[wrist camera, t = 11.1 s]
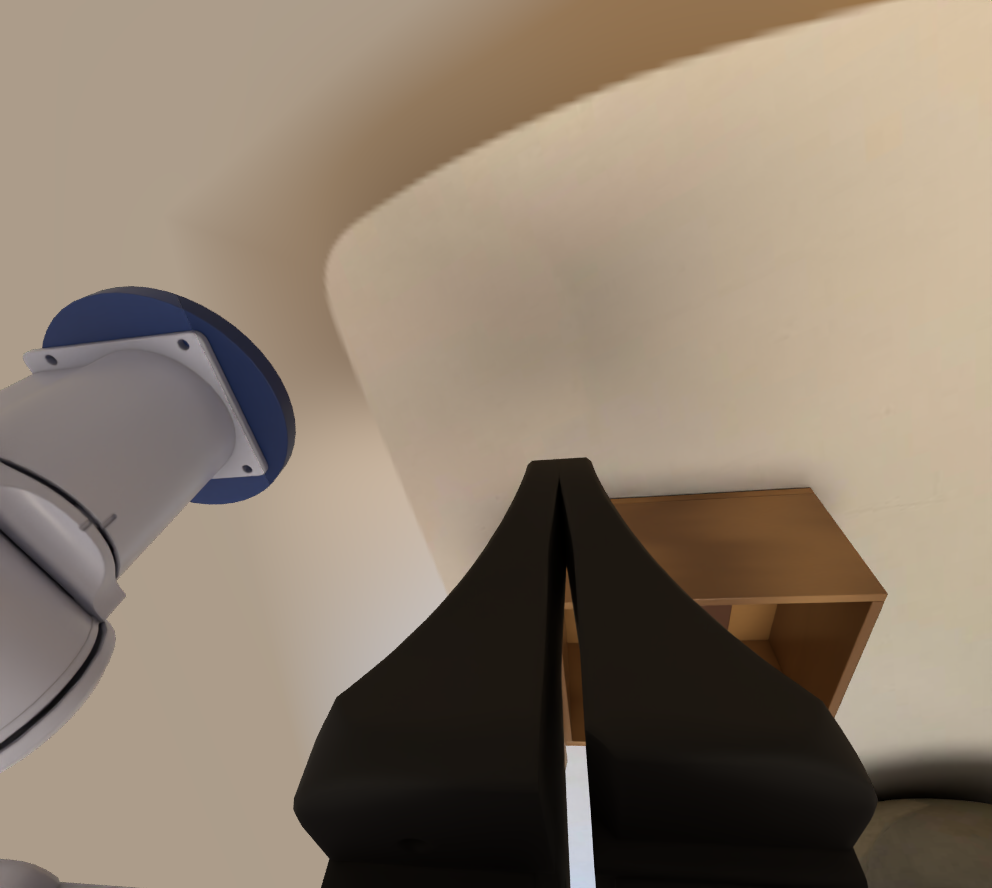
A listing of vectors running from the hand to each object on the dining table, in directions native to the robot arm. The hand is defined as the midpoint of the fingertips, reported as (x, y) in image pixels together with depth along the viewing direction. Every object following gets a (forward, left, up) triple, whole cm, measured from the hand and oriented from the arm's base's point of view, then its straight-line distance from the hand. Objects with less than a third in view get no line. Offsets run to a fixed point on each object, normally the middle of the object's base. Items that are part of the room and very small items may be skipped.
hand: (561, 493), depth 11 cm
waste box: (+5, -13, -9) cm, 17 cm away
